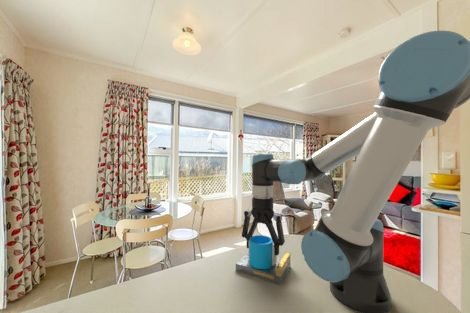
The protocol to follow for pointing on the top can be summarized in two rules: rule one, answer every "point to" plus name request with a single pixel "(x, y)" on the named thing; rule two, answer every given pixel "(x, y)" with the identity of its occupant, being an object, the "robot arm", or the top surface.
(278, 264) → the ledge
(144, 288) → the top surface
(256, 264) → the mug
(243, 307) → the top surface
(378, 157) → the robot arm
